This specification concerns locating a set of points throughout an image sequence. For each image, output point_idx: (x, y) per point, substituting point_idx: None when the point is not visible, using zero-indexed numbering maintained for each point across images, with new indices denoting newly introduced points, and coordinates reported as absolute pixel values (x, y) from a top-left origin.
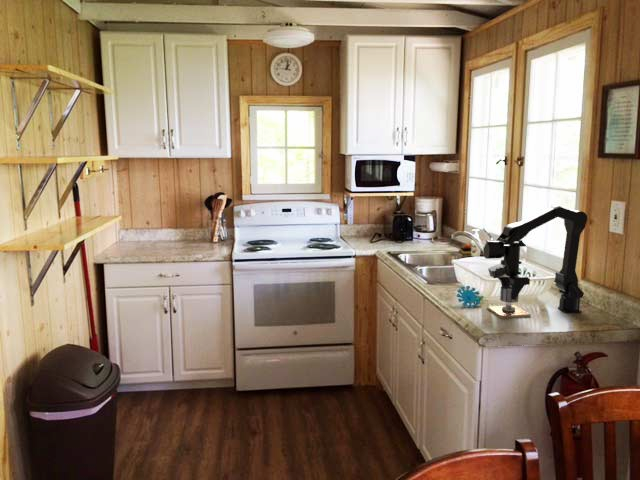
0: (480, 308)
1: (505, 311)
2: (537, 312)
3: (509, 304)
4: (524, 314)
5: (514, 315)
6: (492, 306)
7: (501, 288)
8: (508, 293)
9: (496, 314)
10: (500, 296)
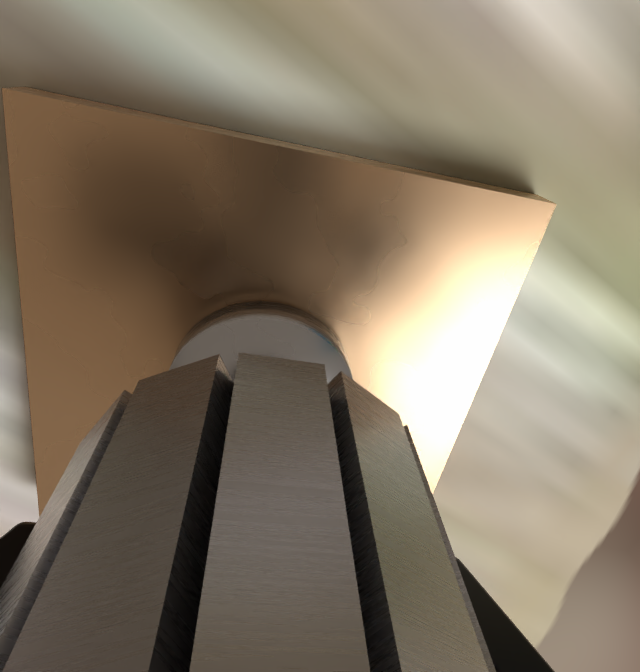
0: (617, 105)
1: (218, 311)
2: None
3: None
4: (37, 455)
5: (26, 327)
6: (509, 282)
7: (308, 666)
8: (1, 606)
9: (200, 126)
10: (348, 422)
